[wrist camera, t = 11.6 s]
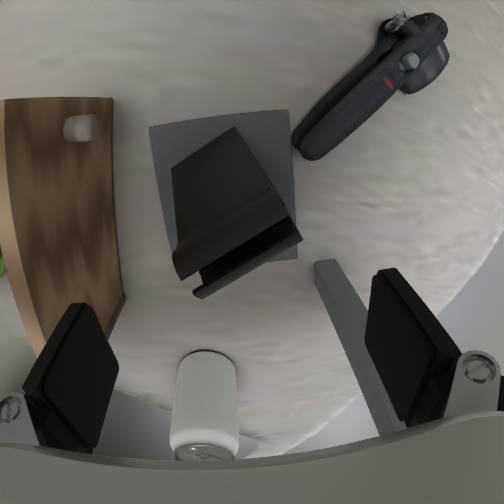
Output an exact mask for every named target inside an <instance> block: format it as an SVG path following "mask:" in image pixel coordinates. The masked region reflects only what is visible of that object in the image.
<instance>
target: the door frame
mask: <svg viewBox="0 0 504 504" xmlns="http://www.w3.org/2000/svg"><path fill="white" fill-rule="evenodd" d="M315 285H316V287H317V290H318V292H319V294H320V296H321V298H322V301H323V303H324V305H325V307H326V309H327V312H328V314H329V316H330V318H331V321H332V323H333V325H334V327H335V330H336V332H337V334H338V337H339V339H340V341H341V343H342V346H343V348H344V350H345V353H346V355H347V357H348V360H349V362H350V364H351V367H352V369H353V371H354V374H355V376H356V379H357V381H358V383H359V386H360V388H361V391H362V393H363V395H364V398H365V400H366V403H367V405H368V408H369V410H370V413H371V415H372V417H373V420H374V422H375V425H376V428H377V430H378V433H379V435H380V436H382V435H386V434H389V433H393V432H397V431H400V430H404V429H407V427H406V425H405V422H404V421H402V422H401V421H400V420H399V419H398V417H397V415H396V412H395V410H394V408H393V405H392V403H391V401H390V399H389V396H388V394H387V392H386V390H385V387H384V385H383V383H382V381H381V379H380V376H379V374H378V372H377V370H376V368H375V365H374V363H373V361H372V359H371V357H370V355H369V353H368V350H367V348H366V346H365V341H364V337H365V330H366V324H367V317H368V310H367V309H366V307H365V306H364V304H363V302H362V301H361V299H360V297H359V296H358V294H357V293H356V291H355V289H354V288H353V286H352V285H351V283H350V282H349V280H348V278H347V277H346V275H345V274H344V272H343V271H342V269H341V268H340V266H339V264H338V263H337V261H336V260H335V259H333V260H326V261H318V262H315Z"/></svg>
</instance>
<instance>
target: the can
mask: <svg viewBox="0 0 504 504" xmlns="http://www.w3.org/2000/svg"><path fill="white" fill-rule="evenodd" d="M170 445H171V448H172V450H173V452H174V453H173V459H174V460H175V461H216V460H235V455H236V453H237V451H238V448H239V428H238V409H237V390H236V373H235V367H234V365H233V363H232V362H231V361H230V360H229V359H228V358H226V357H225V356H223V355H221V354H219V353H216V352H211V351H200V352H195V353H192V354H190V355H188V356H186V357H185V358H184V359H183V360H182V361H181V363H180V365H179V369H178V376H177V383H176V390H175V398H174V406H173V414H172V423H171V432H170Z"/></svg>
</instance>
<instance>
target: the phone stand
mask: <svg viewBox="0 0 504 504" xmlns="http://www.w3.org/2000/svg"><path fill="white" fill-rule="evenodd" d="M171 175H172V187H173V198H174V209H175V218H176V228H177V237H178V242H177V247H176V248H175V250H174V251H173V253H172V259H173V264H174V267H175V270H176V272H177V274H178V276H179V278H180V280H181V281H183V280H184V279H186V278H188V277H189V276H191V275H192V274H194V273H196V272H197V271H199V274H200V275H201V279H202V281H203V284H202V285H201V286H199V287H197V288H196V289H194V290H192V291H193V295H194V296H196V297H197V298H200V299H204V298H206V297H207V296H209V295H211V294H213V293H214V292H216V291H218V290H219V289H221V288H223V287H225V286H226V285H228V284H230V283H231V282H233V281H235V280H237V279H238V278H240V277H242V276H243V275H245V274H247V273H248V272H250V271H252V270H254V269H255V268H257V267H259V266H260V265H262V264H264V263H265V262H267V261H269V260H270V259H272V258H274V257H276V256H277V255H279V254H281V253H282V252H284V251H286V250H287V249H289V248H291V247H292V246H294V245H296V244H297V243H299V242H301V241H302V240H303V238H302V236H301V234H300V232H299V231H298V229H297V227H296V225H295V222H294V219H293V217H292V215H291V213H290V212H289V210H288V208H287V207H286V205H285V204H284V202H283V200H282V199H281V197H280V196H279V194H278V192H277V191H276V189H275V188H274V186H273V184H272V183H271V181H270V180H269V178H268V177H267V175H266V174H265V172H264V170H263V169H262V167H261V166H260V164H259V163H258V161H257V160H256V158H255V156H254V155H253V153H252V152H251V150H250V149H249V147H248V146H247V144H246V143H245V141H244V140H243V138H242V137H241V135H240V134H239V132H238V131H237V129H236V128H235V126H234V127H232V128H230V129H229V130H227V131H226V132H224V133H223V134H221V135H219V136H218V137H216V138H215V139H213V140H212V141H210V142H209V143H207V144H206V145H204V146H203V147H201V148H200V149H198V150H197V151H195V152H194V153H193V154H191V155H190V156H188V157H187V158H185V159H184V160H182V161H181V162H180V163H178V164H177V165H175V166H174V167H173V168H171Z"/></svg>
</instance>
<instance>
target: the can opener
mask: <svg viewBox="0 0 504 504" xmlns="http://www.w3.org/2000/svg"><path fill="white" fill-rule="evenodd" d="M393 16H394V18H390V19H387V20H385V21H384V22H382V24H381V25H380V27H379V32H378V44H377V46H376V47H375V49H374V50H373V51H372V52H371V54H370V55H369V56H368V57H367V58H366V59H365V60H364V61H363V62H362V63H361V64H359V65H358V66H357V67H356V68H355V69H354V70H353V71H351V72H350V73H349V74H348V75H347V76H346V77H344V78H343V79H342V80H341V81H340V82H339V83H338V84H337V85H336V86H335V87H334V88H333V89H332V90H331V91H330V92H329V93H328V94H327V95H326V96H325V97H324V98H323V99H322V100H321V101H320V102H319V103H318V104H317V105H316V106H315V107H314V108H313V109H312V110H311V112H310V113H309V114H308V115H307V116H306V117H305V118H304V120H303V121H302V122H301V123H300V124H299V126H298V127H297V128H296V129H295V131H294V133H293V136H292V143H293V145H294V147H295V148H296V149H298V150H299V151H300V154H301V156H302V157H303V158H304V159H307V160H310V161H314V160H318V159H320V158H322V157H323V156H325V155H326V154H327V153H328V152H330V151H331V150H332V149H333V148H335V147H336V146H337V145H338V144H339V143H341V142H342V141H343V140H344V139H345V138H347V137H348V136H349V135H350V134H351V133H353V132H354V131H355V130H356V129H357V128H358V127H359V126H360V125H361V124H363V123H364V122H365V121H366V120H367V119H368V118H369V117H370V116H371V115H372V114H373V113H375V112H376V111H377V110H378V109H379V108H380V107H381V106H382V105H383V104H384V103H385V102H386V101H387V100H388V99H389V98H390V97H391V96H392V95H393V94H394V93H395V92H396V91H397V90H398V89H399V88H401V89H402V90H403V91H404V92H405V93H406V94H412V93H415V92H417V91H419V90H421V89H423V88H424V87H426V86H427V85H429V84H430V83H431V82H432V81H433V80H434V79H435V78H437V76H438V75H439V74H440V73H441V72H442V71H443V69H444V68H445V66H446V65H447V63H448V60H449V53H448V50H447V48H446V46H445V43H444V41H443V40H444V39H445V37H446V36H447V33H448V28H447V24H446V22H445V21H444V20H443V19H442V18H441V17H440V16H438V15H436V14H434V13H424V14H421V15H416V16H414V17H411V18H410V16H407V17H406V15H405V11H403V12H401V13H400V14H397V15H396V14H393Z"/></svg>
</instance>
